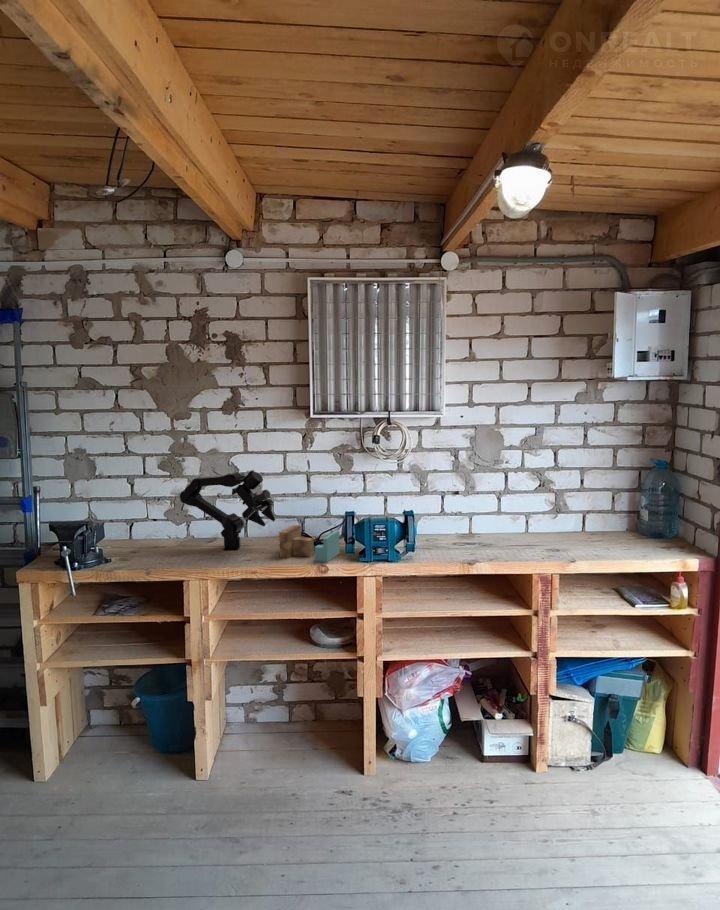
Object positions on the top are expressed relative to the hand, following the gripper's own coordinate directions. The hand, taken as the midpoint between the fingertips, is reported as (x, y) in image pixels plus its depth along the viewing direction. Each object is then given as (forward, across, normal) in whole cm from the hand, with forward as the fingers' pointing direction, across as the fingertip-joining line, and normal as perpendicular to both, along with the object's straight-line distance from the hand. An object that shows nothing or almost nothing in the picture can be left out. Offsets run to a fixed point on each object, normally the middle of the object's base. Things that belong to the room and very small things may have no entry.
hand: (269, 523), depth 278 cm
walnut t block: (+19, 0, -2) cm, 19 cm away
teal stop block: (+28, -1, -12) cm, 30 cm away
